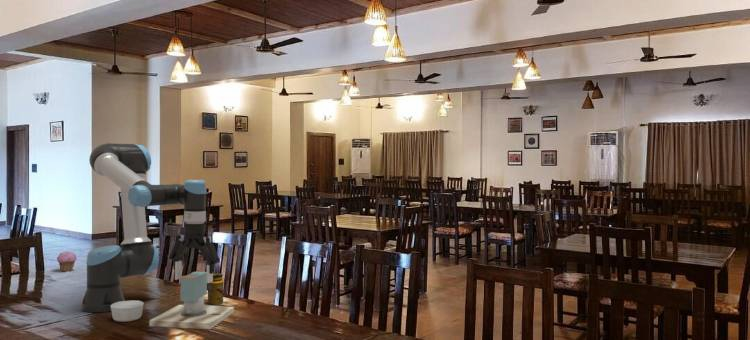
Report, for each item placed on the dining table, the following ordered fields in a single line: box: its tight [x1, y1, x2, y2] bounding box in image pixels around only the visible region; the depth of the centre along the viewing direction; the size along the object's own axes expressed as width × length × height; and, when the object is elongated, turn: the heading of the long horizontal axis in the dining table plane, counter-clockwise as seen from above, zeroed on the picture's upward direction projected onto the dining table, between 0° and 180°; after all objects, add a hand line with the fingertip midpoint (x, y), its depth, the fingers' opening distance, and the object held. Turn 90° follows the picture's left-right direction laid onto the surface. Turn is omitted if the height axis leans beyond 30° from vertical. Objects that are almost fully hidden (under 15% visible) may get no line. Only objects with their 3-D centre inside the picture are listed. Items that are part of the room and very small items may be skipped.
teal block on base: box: [179, 271, 208, 314], centre depth 202 cm, size 12×7×14 cm, turn 176°
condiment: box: [204, 272, 227, 306], centre depth 224 cm, size 7×8×12 cm
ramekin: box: [110, 299, 145, 323], centre depth 201 cm, size 11×11×5 cm
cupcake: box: [56, 251, 77, 273], centre depth 285 cm, size 9×9×10 cm
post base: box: [148, 304, 235, 330], centre depth 202 cm, size 22×22×2 cm
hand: (193, 280), depth 202 cm, fingers open, 13 cm apart
